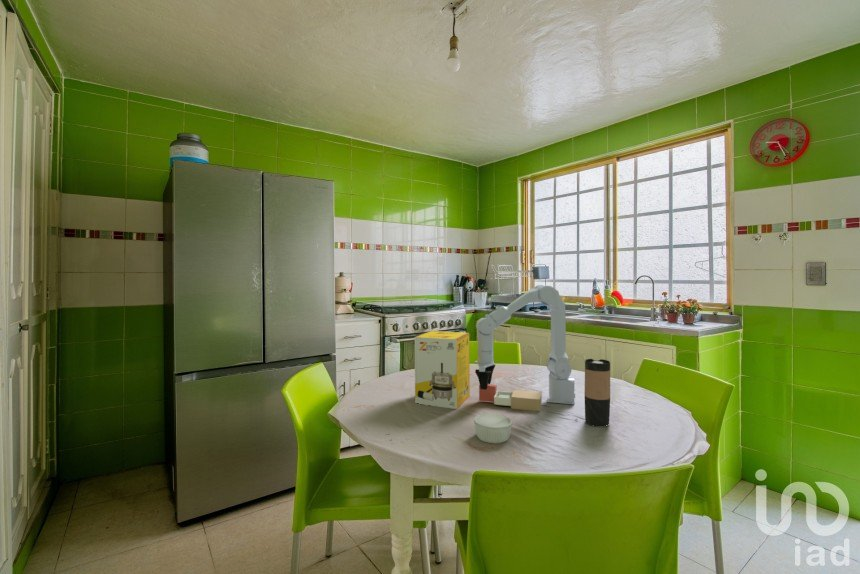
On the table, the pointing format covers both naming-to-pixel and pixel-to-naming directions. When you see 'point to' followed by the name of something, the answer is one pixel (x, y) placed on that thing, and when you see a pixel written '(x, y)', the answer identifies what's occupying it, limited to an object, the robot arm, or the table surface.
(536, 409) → the sleeve
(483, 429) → the ramekin
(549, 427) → the table surface
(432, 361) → the packaging box
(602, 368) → the travel mug
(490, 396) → the red and white box
